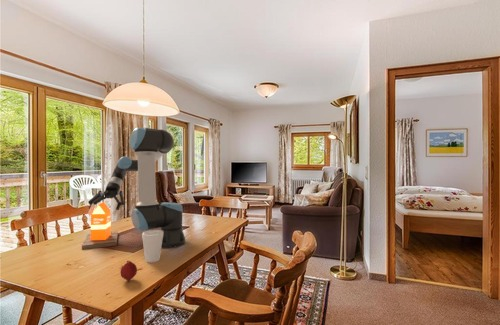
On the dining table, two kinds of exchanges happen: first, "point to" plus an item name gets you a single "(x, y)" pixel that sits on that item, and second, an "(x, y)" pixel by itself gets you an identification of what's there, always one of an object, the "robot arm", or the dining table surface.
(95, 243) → the walnut board
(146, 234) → the foam cup
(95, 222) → the orange juice
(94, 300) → the dining table surface
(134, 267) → the onion
